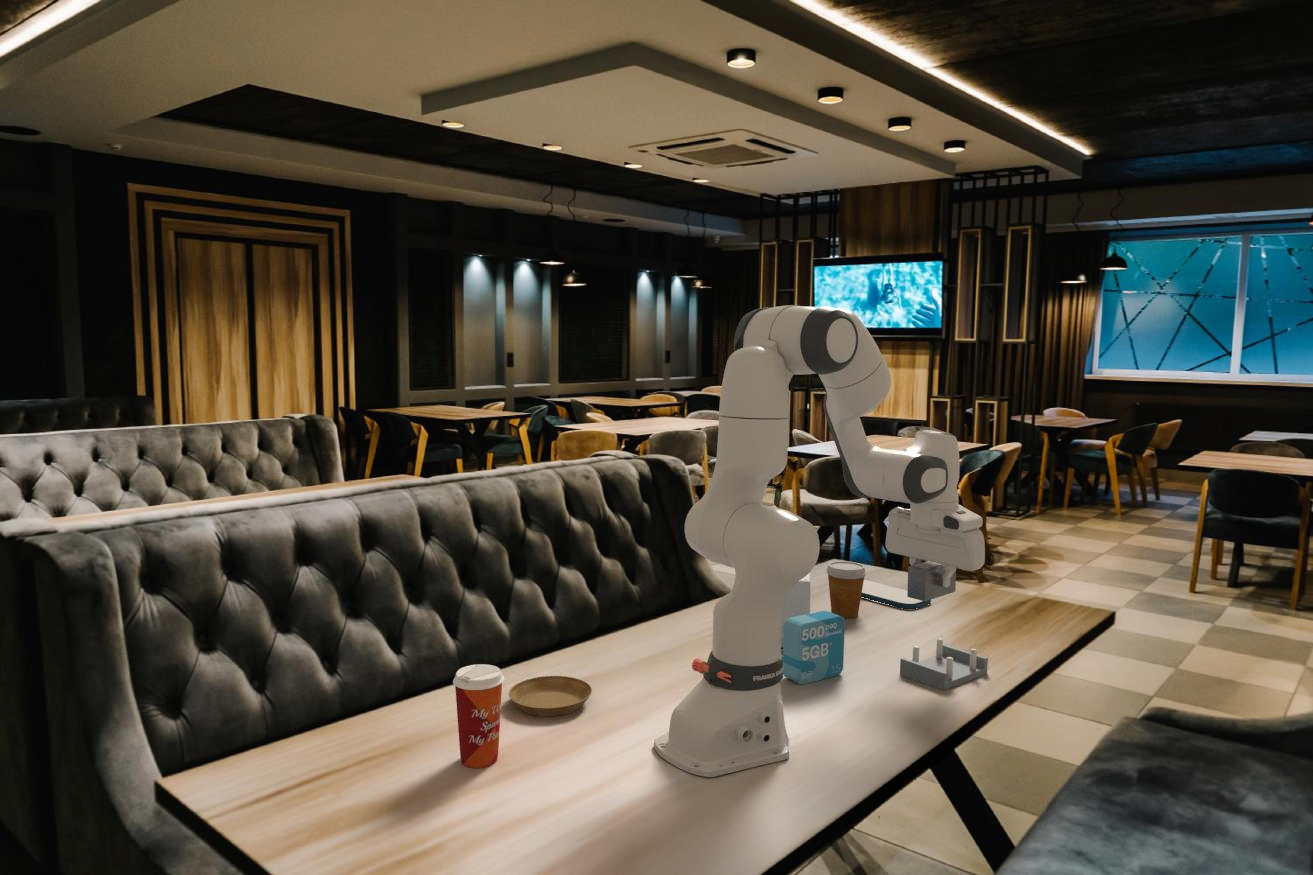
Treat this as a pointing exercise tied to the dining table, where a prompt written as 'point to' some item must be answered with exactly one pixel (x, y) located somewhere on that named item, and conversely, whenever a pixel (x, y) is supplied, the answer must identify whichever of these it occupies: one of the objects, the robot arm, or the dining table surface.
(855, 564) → the disposable coffee cup
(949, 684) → the tray
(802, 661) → the data package
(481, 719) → the paper cup
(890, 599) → the white teal rounded slab
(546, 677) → the plant saucer
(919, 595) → the block
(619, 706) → the dining table surface
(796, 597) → the supplement box
